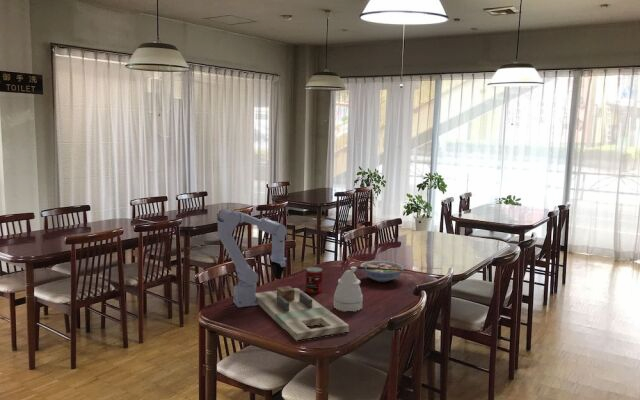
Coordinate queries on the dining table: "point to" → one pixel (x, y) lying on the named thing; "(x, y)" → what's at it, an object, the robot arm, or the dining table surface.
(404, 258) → the dining table surface
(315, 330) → the board
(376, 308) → the dining table surface
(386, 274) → the ramen bowl
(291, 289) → the walnut block
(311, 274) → the canned food
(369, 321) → the dining table surface
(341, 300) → the white santa figurine
